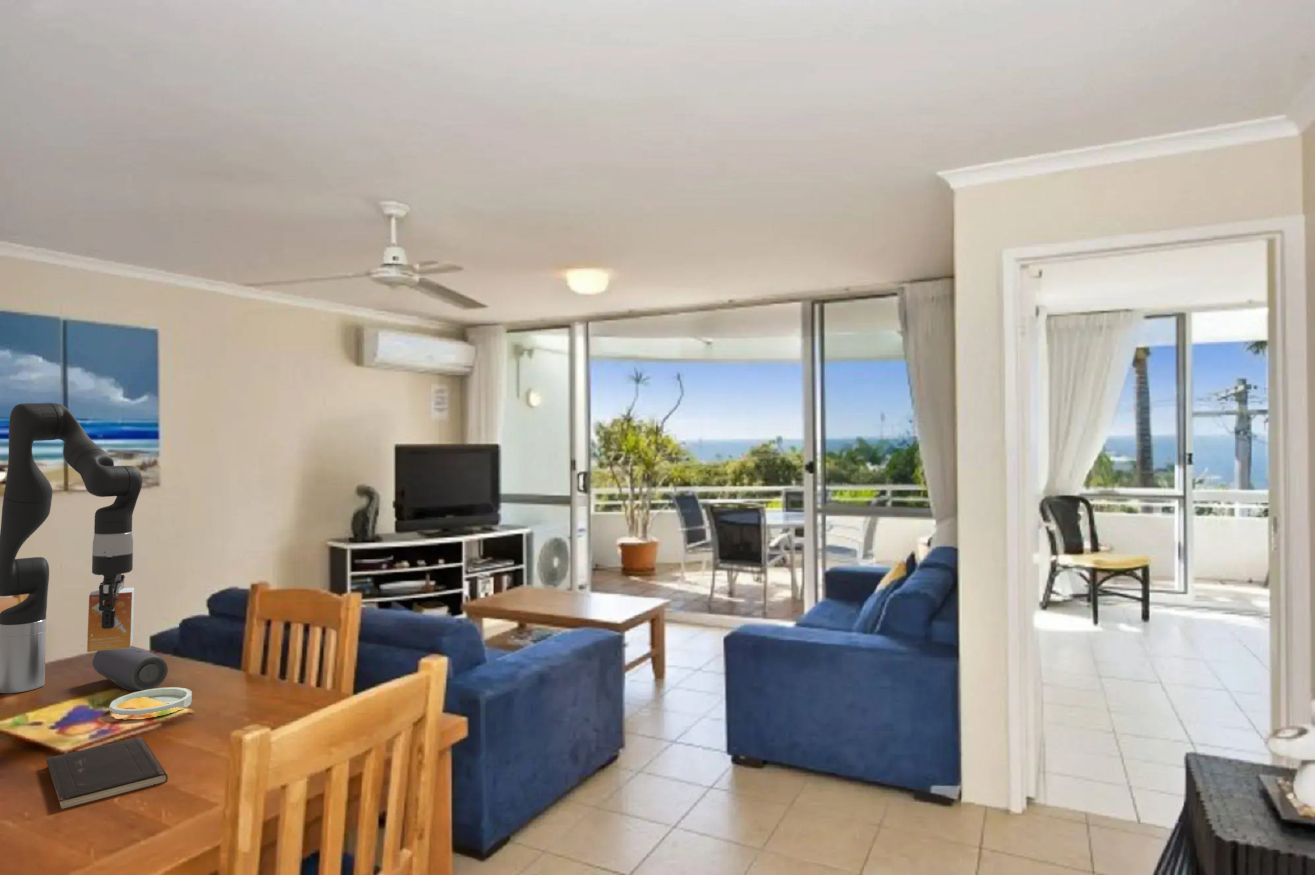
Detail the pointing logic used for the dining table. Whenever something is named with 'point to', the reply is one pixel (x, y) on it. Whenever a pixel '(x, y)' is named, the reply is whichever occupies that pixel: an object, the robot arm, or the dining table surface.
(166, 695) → the round tray
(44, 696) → the dining table surface
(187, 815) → the dining table surface
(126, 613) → the small box
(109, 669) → the bluetooth speaker
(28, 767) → the dining table surface
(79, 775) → the hardcover book
